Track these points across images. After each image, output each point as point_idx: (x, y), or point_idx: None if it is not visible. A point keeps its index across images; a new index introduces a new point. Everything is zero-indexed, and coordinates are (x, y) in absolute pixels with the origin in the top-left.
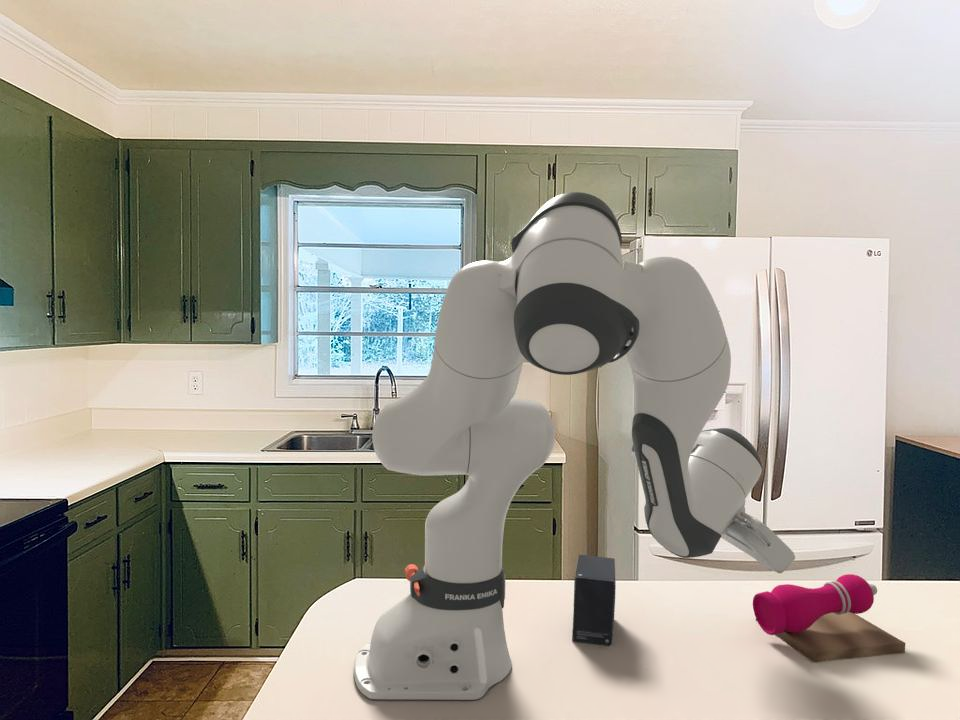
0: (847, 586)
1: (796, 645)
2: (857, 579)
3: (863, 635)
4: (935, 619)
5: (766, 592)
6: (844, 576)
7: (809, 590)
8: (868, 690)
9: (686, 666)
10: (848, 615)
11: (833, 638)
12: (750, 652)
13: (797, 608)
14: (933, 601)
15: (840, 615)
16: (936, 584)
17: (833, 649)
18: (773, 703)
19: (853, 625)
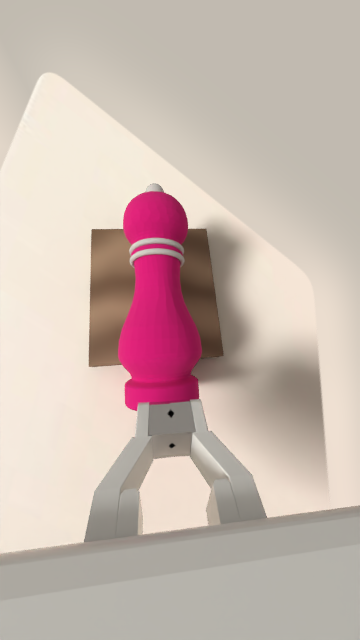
0: (169, 232)
1: None
2: (168, 205)
3: (184, 261)
4: (133, 150)
5: (154, 396)
6: (149, 216)
7: (168, 306)
8: (279, 331)
9: None
10: (127, 240)
11: (188, 303)
12: None
13: (199, 355)
14: (89, 118)
15: (124, 250)
16: (47, 81)
17: (217, 323)
18: (311, 469)
19: None
